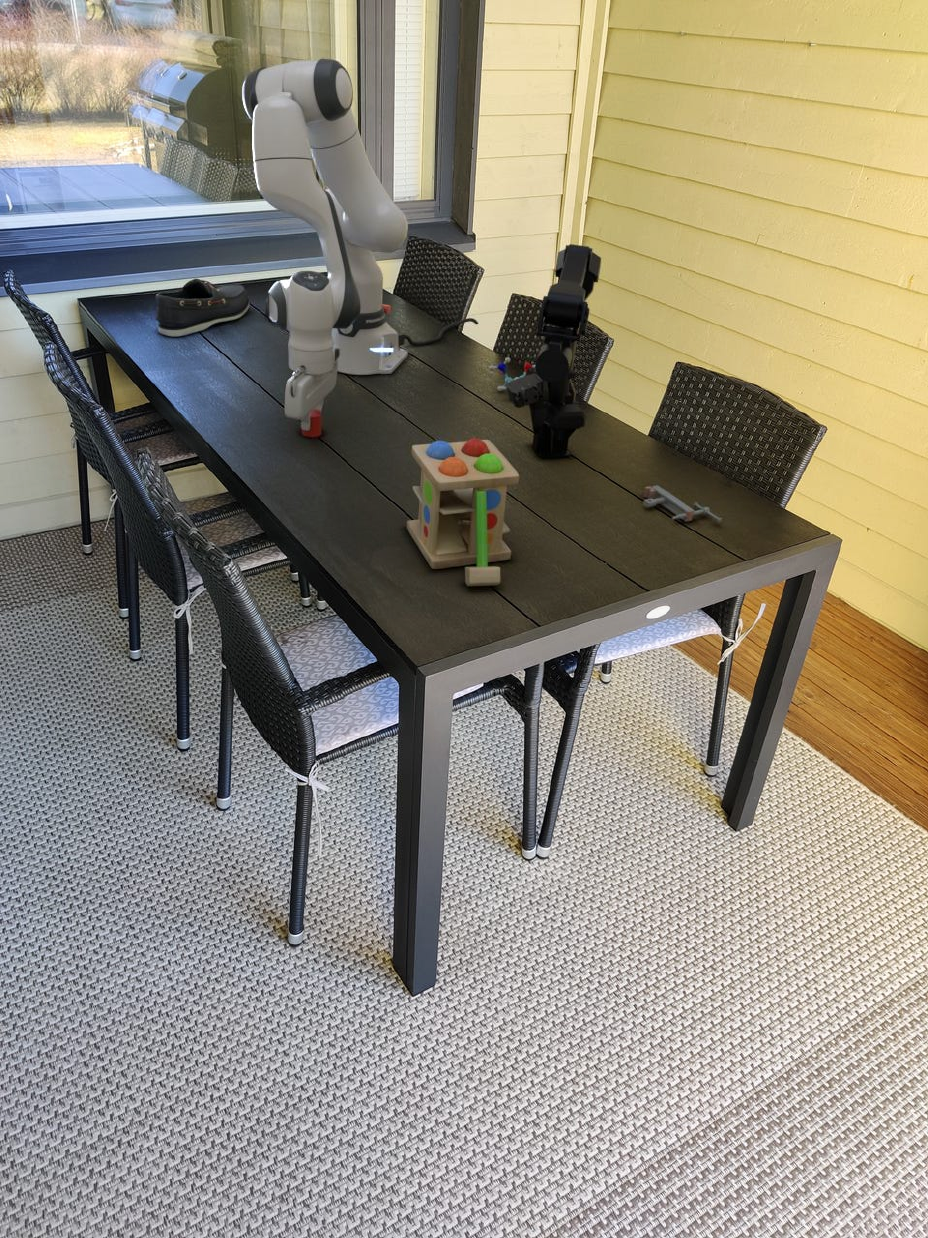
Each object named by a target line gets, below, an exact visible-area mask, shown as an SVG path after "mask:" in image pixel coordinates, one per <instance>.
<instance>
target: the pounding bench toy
mask: <svg viewBox="0 0 928 1238" xmlns="http://www.w3.org/2000/svg"><path fill="white" fill-rule="evenodd" d="M411 456H412V458H413V459H414V460H415V462H416V464H417V465H418V467H419V468H420V469H421V471H420V472H421V474H420V485H418V486H417V485H413V486H412V490H413V492H414V495H416V497H417V499H418V500H419V501H418V502H419V504H418V506H419V507H418V519H412V520H407V521H406V529H407V531H408V533H409V535H410V536H411V538H412V540H413V541H414V543H415V544H416V546H417V547H418V549H419V551H420V552H421V554H422V555H423V557H424V559H425V560H426V561H427V563H428V565H429V567H430V569H433V570H439V569H440V570H441V569H448V568H453V567H454V568H455V567H456V568H457V567H462V566H463V567H464V566H465V567H464V583H465V585H466V586H467V587H486V586H488V587H489V586H491V587H492V586H499V585H500V584H501V567H499V566H497V565H489V563H491V562H492V563H493V562H500V561H507V560H511V556H512V550H511V549H510V548H509V546H508V545H507V544H506V542H505V541H504V540H503V534H507V533H510V532H511V529H510V528H509V526H508V525H507V524H506V522H505V512H506V511H505V509H506V502H507V501H506V500H507V491H508V490H507V488H508V486H512V485H517V484H519V482H520V481H519V480H520V474H519V473H518V471H517V470H516V469H515V467H513V465H512V464H511V463H510V462H509V460H508V459H507V458H506V457H505V456H504V455H503V454H502V453H501V451H500V450H499V449H498V448H497V447H496V446H495V444H494V443H493V442H492V441H491V440H489V439H480V438H471V439H469V440H464V441H455V442H453V441H452V442H447V441H444V440H436V441H433V442H432V443H424V444H423V443H422V444H413V445H412V446H411ZM469 565H476V566H469Z"/></svg>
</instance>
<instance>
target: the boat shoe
mask: <svg viewBox="0 0 928 1238" xmlns="http://www.w3.org/2000/svg"><path fill="white" fill-rule="evenodd" d="M155 299H156V317H155V320H156V321H157V322H158V324H157V326H158V332H159V333H160V334H161V335H163V336H167V337H183V336H187V335H189V334H190V335H191V334H193V333H197V332H200V331H204V330H206V329H208V328H209V327H210V326H212V325H214V324H218V323H222V322H228V321H234V320H237V319H239V318H241V317H242V316H244V315H245V314H246V313H247V312H248V310H249V308H250V299H249V295H248V292H247V290H246V289H245V287H244V286H243V285H242V284H239V283H231V284H226V285H221V286H217V287H216V286H215V284H214V283H212V282H210V281H208V280H205V279H200V278H193V279H191V280H189V281H187V282H185V284H184V285H183V286H182V287H181V289H180V290H176V291H170V292H169V291H168V292H167V291H165V292H159V293H157V294H156V295H155Z"/></svg>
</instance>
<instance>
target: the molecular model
mask: <svg viewBox="0 0 928 1238" xmlns="http://www.w3.org/2000/svg"><path fill="white" fill-rule="evenodd" d="M510 362H511V358H510V357H508V356H507V357H505V359H504V362H500V363H499V364H498V365H496V366H495V365H493V364H492V365H490V366H489V371H491V372H493V371H494V370H498V371H500V372H502V374H503V375H504V377H505V379H504V384H503V385H499V386H497V389H496V390H497V391H498V392H504V391H505V390H507V387H506V384H507V383H509V382H511V381H513V380H516V379H518V378H521V377H523V376H527V373H528V370H530V369H534V367H535V364H531V363H529V362H525V363H524V364H523V368H524V371H523V374H522V375H520V376H519V377H518V376H517V377H515V378H513V377H510V376H508V373H507V371H506V365H507V364H509V363H510Z"/></svg>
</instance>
